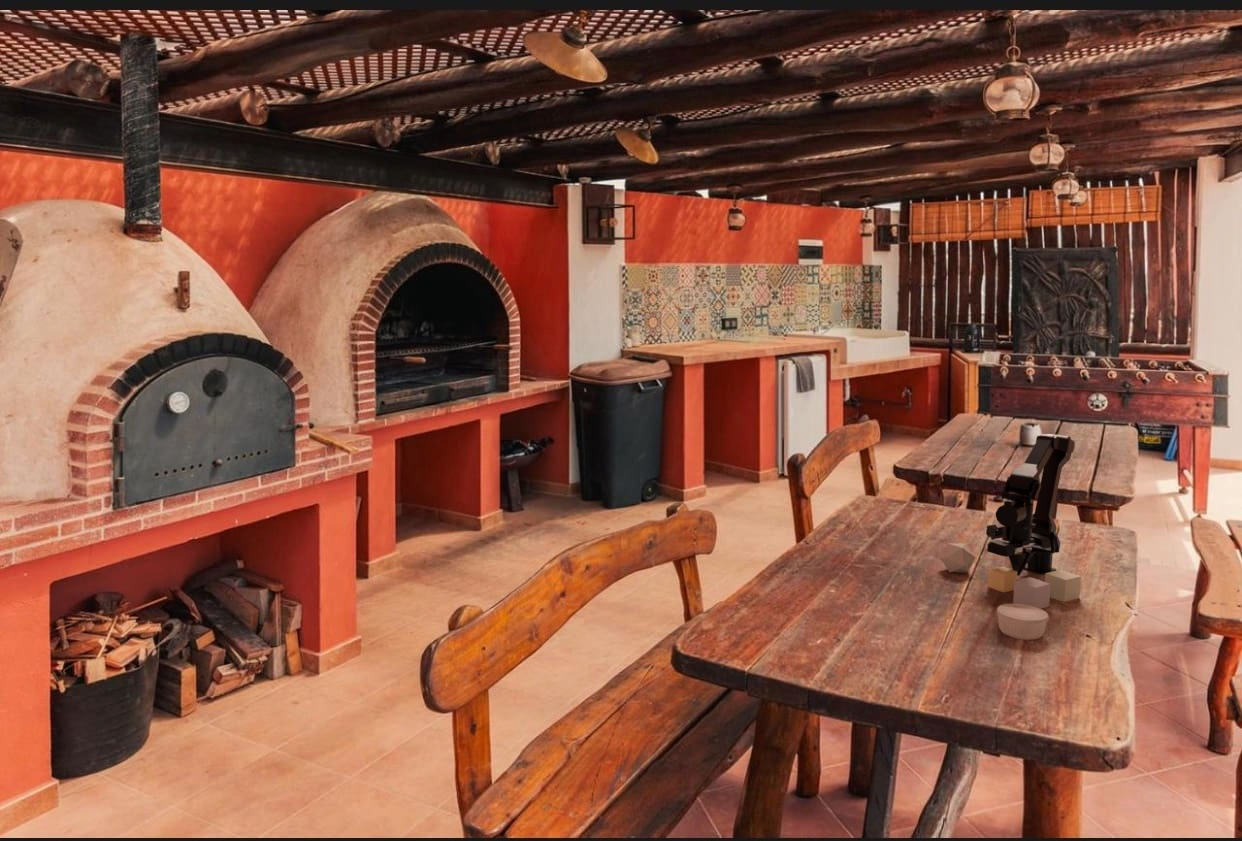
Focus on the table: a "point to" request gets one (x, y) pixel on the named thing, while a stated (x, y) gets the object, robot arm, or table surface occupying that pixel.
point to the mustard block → (1002, 579)
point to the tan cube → (1063, 585)
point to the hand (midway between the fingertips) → (1016, 575)
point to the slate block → (1032, 592)
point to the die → (957, 557)
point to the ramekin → (1022, 621)
